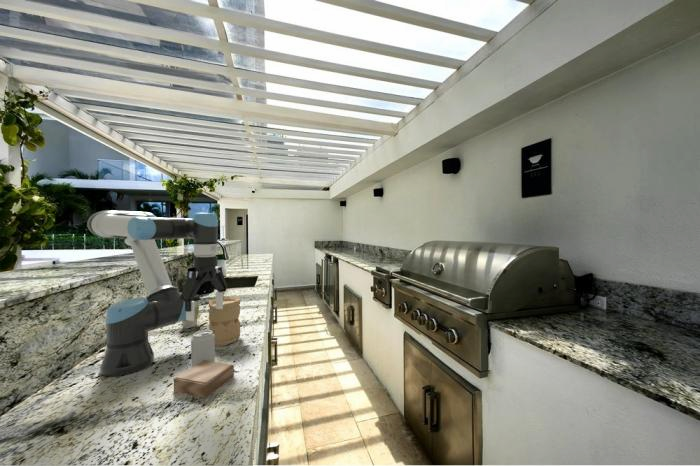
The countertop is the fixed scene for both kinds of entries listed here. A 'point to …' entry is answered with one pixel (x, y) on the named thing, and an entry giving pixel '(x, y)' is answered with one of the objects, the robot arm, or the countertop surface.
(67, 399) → the countertop surface
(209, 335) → the can
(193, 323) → the coffee cup
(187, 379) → the tan cardboard box
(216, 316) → the container
